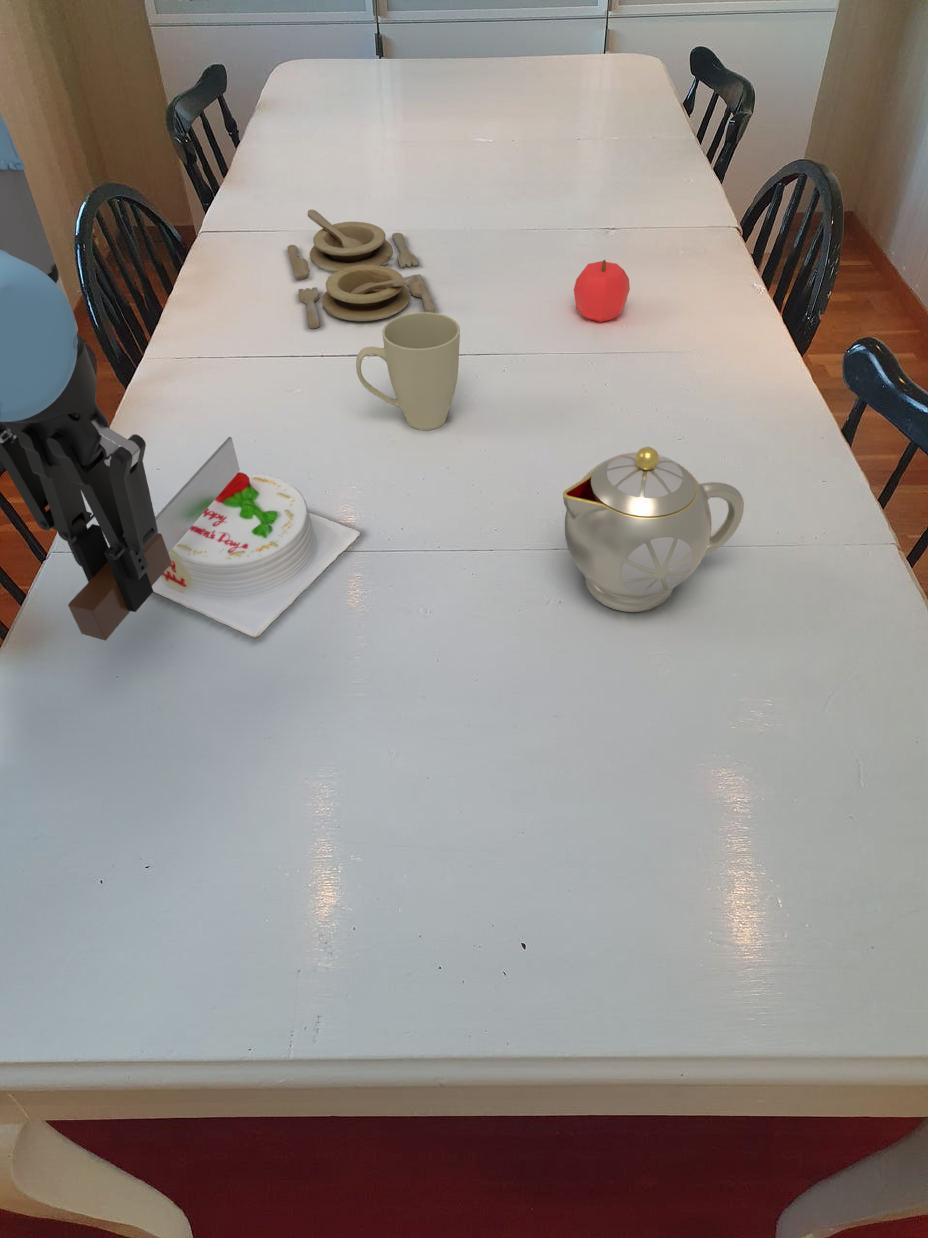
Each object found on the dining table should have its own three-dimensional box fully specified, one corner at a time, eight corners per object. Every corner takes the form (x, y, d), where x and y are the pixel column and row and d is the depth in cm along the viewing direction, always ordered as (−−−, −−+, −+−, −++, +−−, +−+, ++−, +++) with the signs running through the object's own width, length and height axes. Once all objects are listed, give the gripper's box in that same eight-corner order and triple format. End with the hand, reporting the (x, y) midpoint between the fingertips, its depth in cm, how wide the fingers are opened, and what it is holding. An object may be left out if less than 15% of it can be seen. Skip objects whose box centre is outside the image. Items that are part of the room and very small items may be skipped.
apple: (596, 296, 136) (601, 243, 130) (638, 314, 131) (645, 259, 126) (560, 314, 132) (563, 260, 126) (602, 333, 128) (607, 278, 122)
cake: (231, 489, 105) (219, 427, 99) (364, 537, 98) (358, 473, 93) (118, 579, 93) (95, 514, 87) (259, 640, 87) (245, 574, 81)
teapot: (573, 644, 86) (586, 506, 74) (539, 551, 95) (547, 416, 83) (754, 617, 88) (794, 480, 76) (703, 529, 97) (732, 395, 85)
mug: (419, 389, 118) (413, 302, 110) (477, 416, 113) (475, 326, 105) (359, 426, 112) (348, 337, 104) (417, 455, 108) (411, 364, 99)
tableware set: (287, 248, 150) (281, 211, 146) (403, 234, 153) (401, 198, 149) (308, 332, 130) (301, 293, 125) (442, 314, 132) (440, 275, 128)
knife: (105, 641, 75) (90, 607, 72) (81, 634, 75) (64, 600, 72) (249, 472, 90) (241, 438, 87) (228, 467, 91) (219, 434, 88)
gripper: (153, 336, 61) (226, 587, 78) (-30, 305, 65) (77, 550, 82) (85, 393, 57) (179, 648, 73) (-108, 355, 61) (23, 605, 77)
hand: (125, 596), depth 78 cm, fingers closed on knife, 2 cm apart
